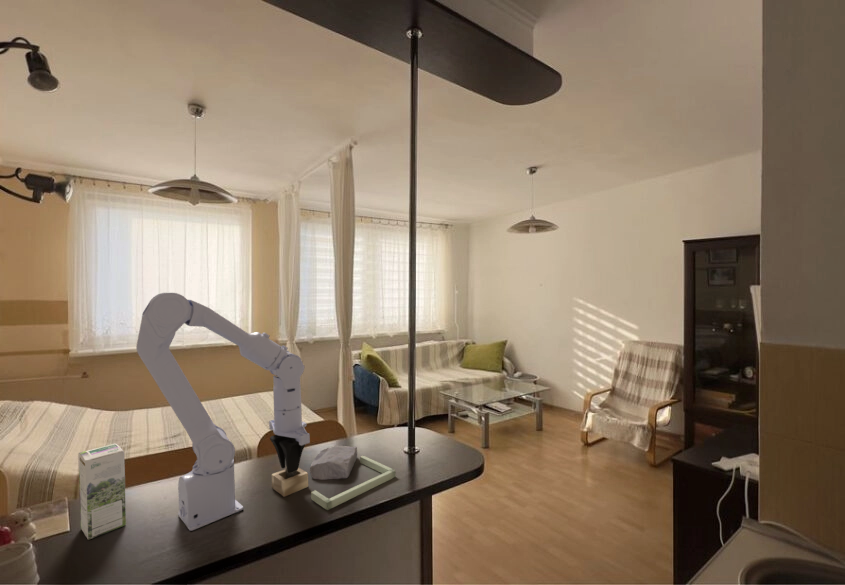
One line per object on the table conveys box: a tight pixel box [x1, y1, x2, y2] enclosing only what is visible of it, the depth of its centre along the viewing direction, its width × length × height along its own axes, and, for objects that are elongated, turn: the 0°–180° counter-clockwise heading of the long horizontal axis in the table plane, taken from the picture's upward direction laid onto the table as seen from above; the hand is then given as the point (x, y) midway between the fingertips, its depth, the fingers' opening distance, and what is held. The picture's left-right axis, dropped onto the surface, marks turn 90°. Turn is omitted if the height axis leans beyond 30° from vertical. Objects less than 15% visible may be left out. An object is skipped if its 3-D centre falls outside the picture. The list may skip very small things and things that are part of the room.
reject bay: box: [310, 455, 397, 511], centre depth 88 cm, size 18×12×2 cm, turn 136°
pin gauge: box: [284, 460, 297, 479], centre depth 87 cm, size 2×2×8 cm
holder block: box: [271, 467, 309, 498], centre depth 86 cm, size 6×6×3 cm
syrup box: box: [77, 443, 127, 541], centre depth 73 cm, size 6×6×14 cm
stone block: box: [309, 445, 358, 481], centre depth 95 cm, size 12×5×10 cm
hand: (289, 468), depth 86 cm, fingers closed on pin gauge, 2 cm apart
